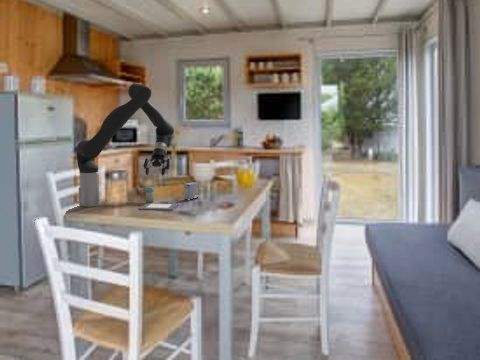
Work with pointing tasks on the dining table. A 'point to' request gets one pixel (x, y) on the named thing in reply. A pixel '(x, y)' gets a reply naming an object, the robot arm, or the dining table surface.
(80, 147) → the robot arm
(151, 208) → the writing mat
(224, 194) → the dining table surface
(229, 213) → the dining table surface
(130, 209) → the dining table surface
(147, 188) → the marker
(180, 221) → the dining table surface
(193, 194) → the medicine box
